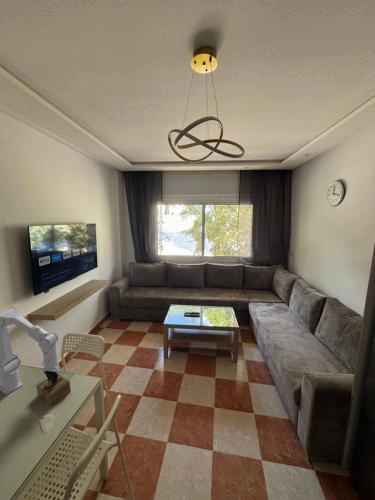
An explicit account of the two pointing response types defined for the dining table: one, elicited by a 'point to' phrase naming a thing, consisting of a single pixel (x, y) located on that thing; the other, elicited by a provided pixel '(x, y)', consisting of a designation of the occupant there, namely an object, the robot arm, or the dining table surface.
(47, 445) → the dining table surface
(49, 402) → the box
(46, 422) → the arrowhead
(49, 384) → the gold metal block
